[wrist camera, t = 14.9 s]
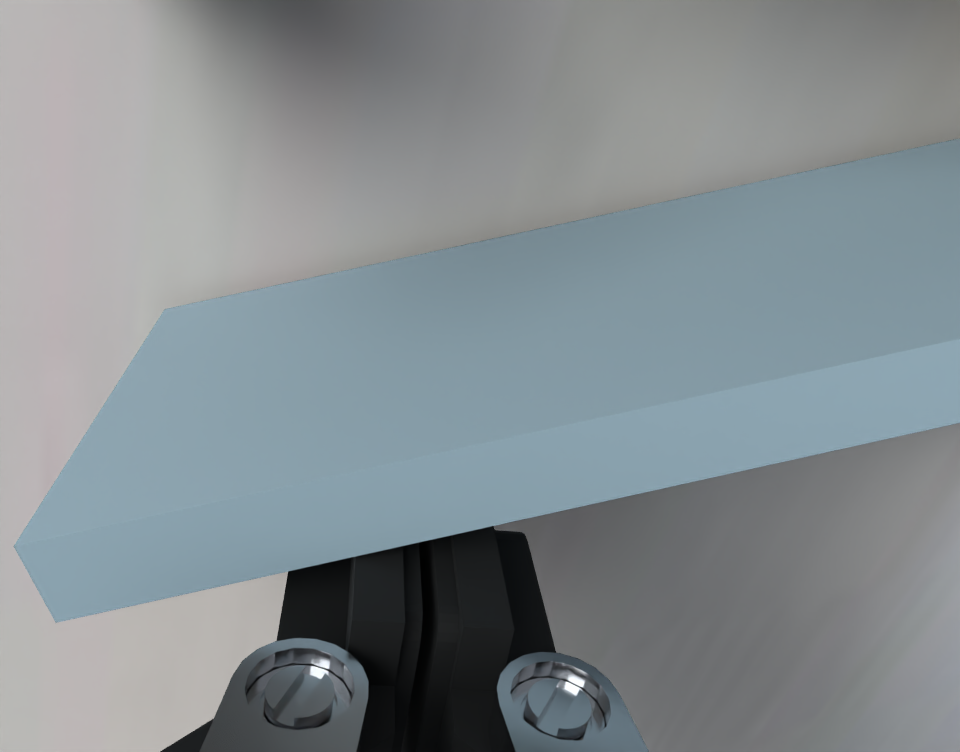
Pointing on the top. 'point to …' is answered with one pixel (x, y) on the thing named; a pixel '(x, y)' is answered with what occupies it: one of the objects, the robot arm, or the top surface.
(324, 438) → the blue grey rectangular panel
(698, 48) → the top surface
